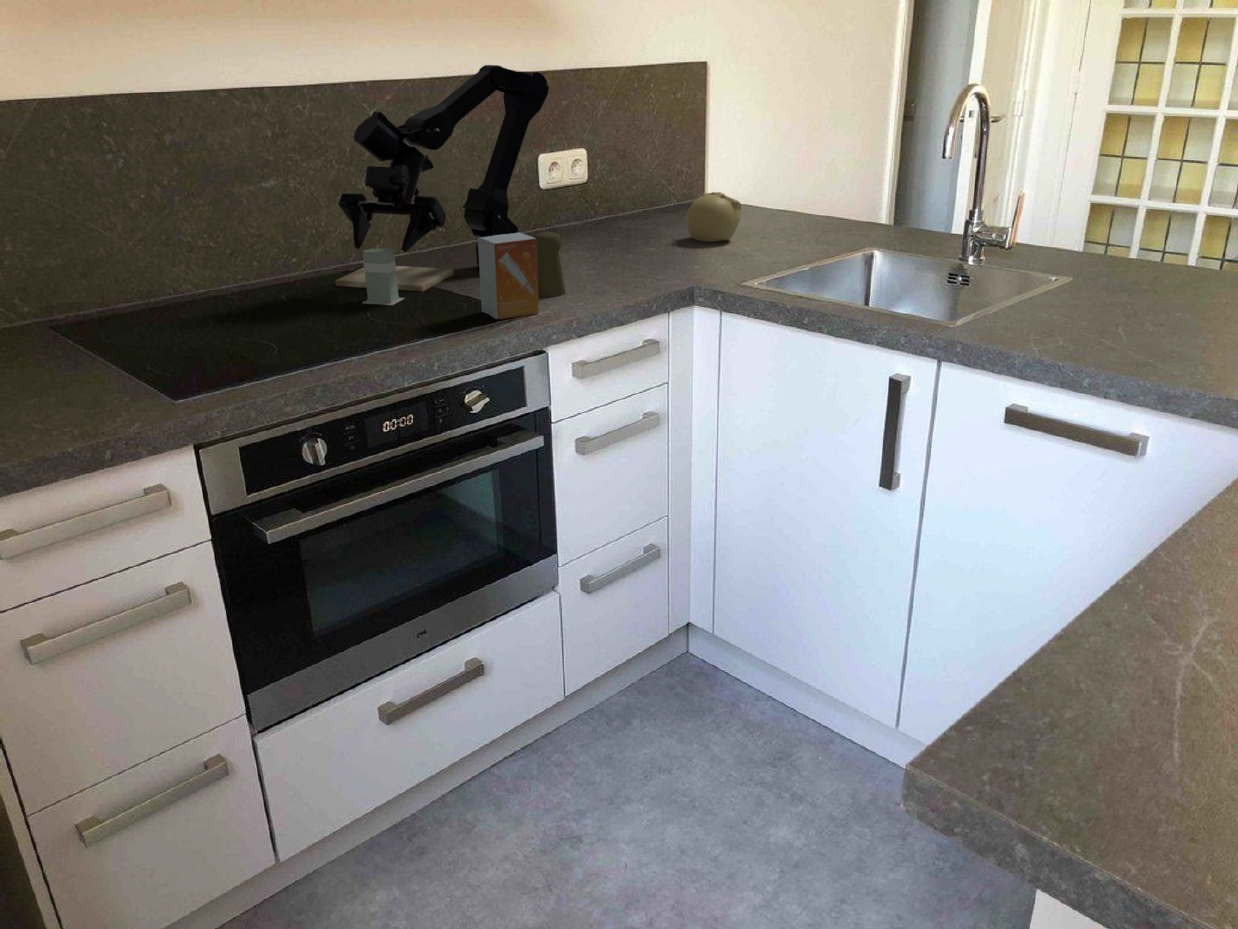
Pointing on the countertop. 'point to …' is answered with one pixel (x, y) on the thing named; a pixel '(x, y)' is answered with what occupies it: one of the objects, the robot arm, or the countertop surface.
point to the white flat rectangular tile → (384, 303)
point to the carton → (380, 275)
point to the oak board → (402, 278)
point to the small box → (508, 275)
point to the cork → (549, 265)
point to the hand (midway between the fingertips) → (380, 249)
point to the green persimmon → (713, 217)
